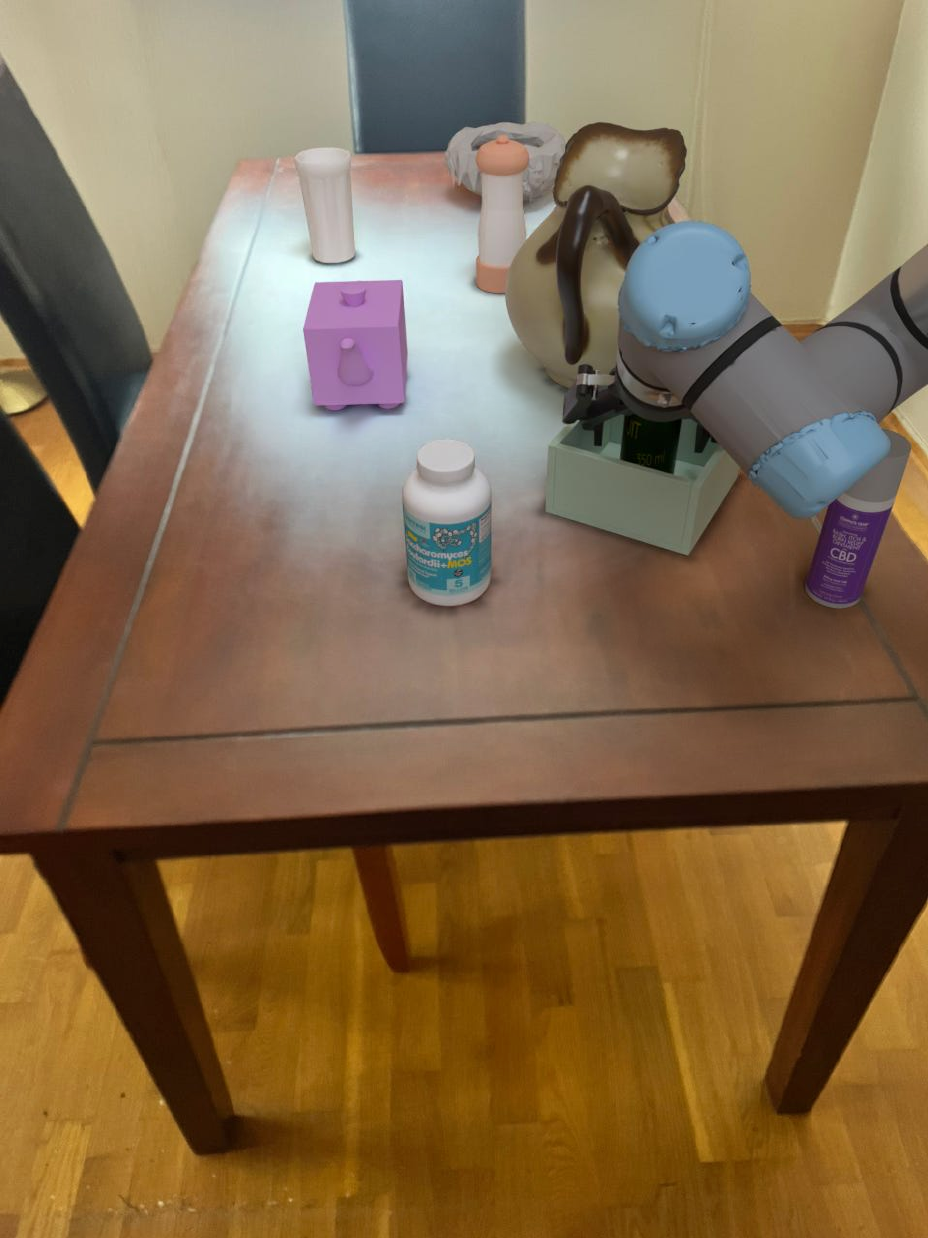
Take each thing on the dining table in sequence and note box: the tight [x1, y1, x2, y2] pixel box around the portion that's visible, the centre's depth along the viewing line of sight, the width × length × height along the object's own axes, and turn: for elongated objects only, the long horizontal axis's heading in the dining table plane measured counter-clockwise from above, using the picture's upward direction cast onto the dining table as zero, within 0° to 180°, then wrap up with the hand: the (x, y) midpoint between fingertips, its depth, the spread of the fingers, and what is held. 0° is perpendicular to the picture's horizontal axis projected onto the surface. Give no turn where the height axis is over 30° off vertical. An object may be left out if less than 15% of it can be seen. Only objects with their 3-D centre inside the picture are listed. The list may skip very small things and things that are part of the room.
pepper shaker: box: [475, 135, 530, 294], centre depth 125 cm, size 7×7×19 cm
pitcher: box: [504, 121, 688, 390], centre depth 102 cm, size 22×24×25 cm
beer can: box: [620, 414, 682, 475], centre depth 88 cm, size 5×5×12 cm
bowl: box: [444, 121, 567, 203], centre depth 154 cm, size 21×20×10 cm
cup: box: [293, 146, 356, 264], centre depth 135 cm, size 8×8×14 cm
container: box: [804, 427, 912, 609], centre depth 76 cm, size 5×5×15 cm
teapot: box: [302, 279, 409, 411], centre depth 104 cm, size 20×10×12 cm, turn 1°
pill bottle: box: [401, 438, 493, 607], centre depth 78 cm, size 8×7×14 cm
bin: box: [545, 414, 741, 556], centre depth 90 cm, size 15×15×8 cm
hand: (648, 435), depth 91 cm, fingers open, 9 cm apart
